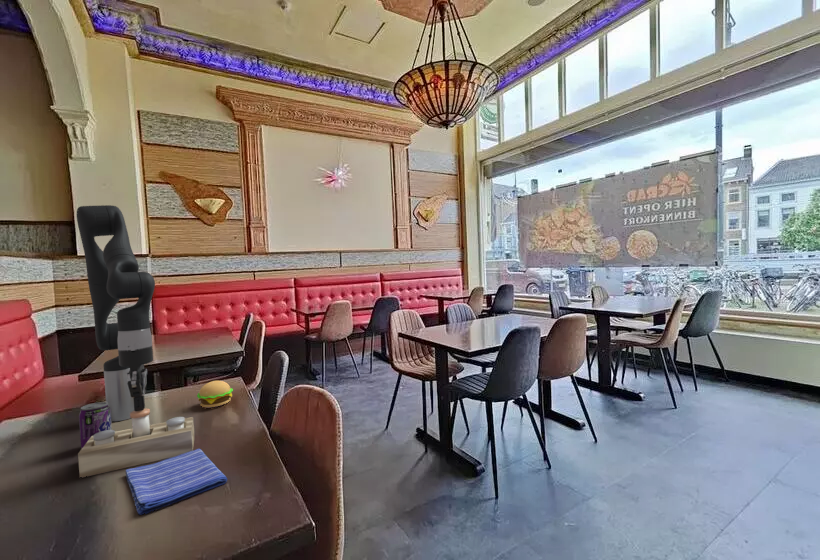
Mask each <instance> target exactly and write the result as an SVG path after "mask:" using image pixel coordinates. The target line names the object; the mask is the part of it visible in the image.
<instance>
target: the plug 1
mask: <svg viewBox="0 0 820 560" xmlns="http://www.w3.org/2000/svg"><path fill="white" fill-rule="evenodd" d="M115 432H116V431H115V429H112V430H105V431H101V432H98V433H96V434H94V435H93V439H94V440H95V446H96V445H101V444H106V443H111V442H114V435H115Z"/></svg>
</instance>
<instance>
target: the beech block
mask: <svg viewBox="0 0 820 560" xmlns="http://www.w3.org/2000/svg"><path fill="white" fill-rule="evenodd" d="M184 418H185V422H184V428H181V429H176V430H171V431H168V426H166V421H165V422H157V423H153V424H149V425H150V435H146V436H141V437H136V438H133V430H132V428H128V429H123V430H118V431H117V430H116V431H115V435H114V442H111V443H106V444H101V445H96V446H95V440H94V439H93V436H91V438H90V439H89V440H88V441H87V443H86V444H85V445H84V447H83V448H82V449H81V448H80V450H79V452H78V453H77V457H78V470H79V472H78V473H79V478H80V477H82V478H87V477H90V476H91V477H92V476H95V475H100V474H104V473H108V472H113V471H117V470H121V469H125V468H130V467H131V468H132V467H135V466H136V467H137V466H139V465H144V464H149V463H152V462H153V463H154V462H157V461H158V462H159V461H163V460H166V459H169V458H172V457H176V456H179V455H181V454H184V453H187V452H190V451H194V445H195V444H194V443H195V426H194V425H195V421H194V417H193V416H191V417H184ZM86 476H87V477H86Z"/></svg>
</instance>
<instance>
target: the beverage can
mask: <svg viewBox="0 0 820 560" xmlns="http://www.w3.org/2000/svg"><path fill="white" fill-rule="evenodd" d="M78 421H79V424H78V425H79V434H80V436H79V437H80V438H79V439H80V450H81V449H82V448H83V447H84V445H85V444H86V443H87V441H88V440H89V439H90V438H91V436H93V435H94V434H96V433H98V432H101V431H105V430H113V427H112V421H111V412H110V407H109V406H108V402H106V401H99V402H94V403H93V402H92V403H89V404H86V405H83V406H81V407H80V412H79V414H78Z"/></svg>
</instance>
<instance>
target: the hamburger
mask: <svg viewBox="0 0 820 560" xmlns="http://www.w3.org/2000/svg"><path fill="white" fill-rule="evenodd" d="M233 391H234V389H233V388H232V387H231V386H230V385H229V383H227V382H225V381H222V380H212V381H210V382H207V383H205V384H204V385H202V387H200V390H199V392H198V393H197V395H196V397H197V399H198V401H199V402H200V404H199V405H200V407H201V406H202V407H201V408H203V407H215V406H220V405H223V404H226V403H228V402H229V401H230V402H231V398H232V397H233V393H232V392H233ZM230 402H229V403H230ZM229 403H228V404H229Z"/></svg>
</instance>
